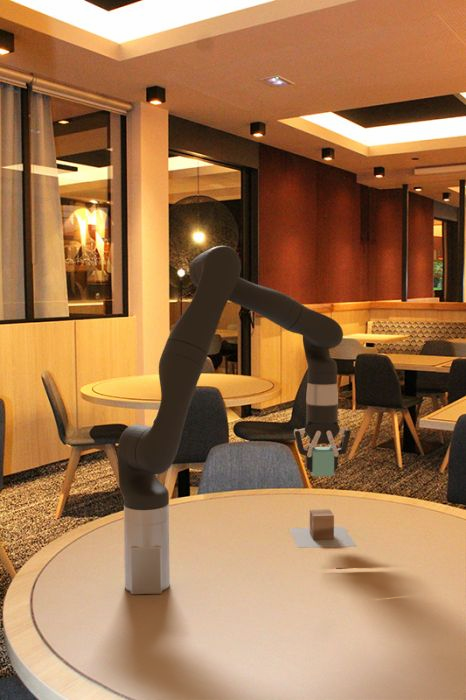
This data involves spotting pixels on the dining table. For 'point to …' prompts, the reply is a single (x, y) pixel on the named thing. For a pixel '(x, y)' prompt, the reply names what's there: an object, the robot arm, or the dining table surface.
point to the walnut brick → (322, 524)
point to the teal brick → (322, 462)
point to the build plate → (305, 540)
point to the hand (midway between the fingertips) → (321, 471)
